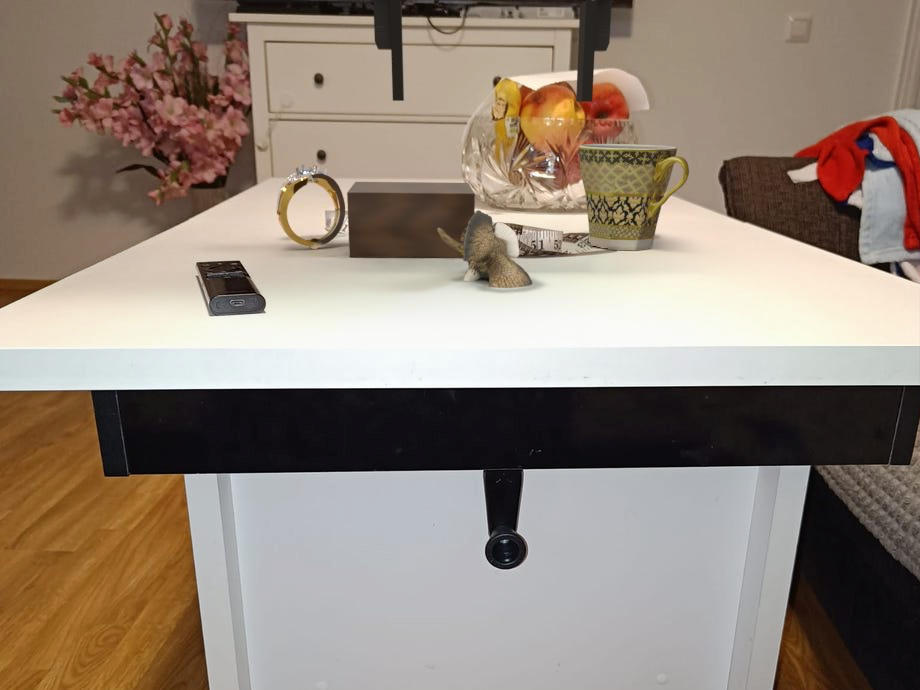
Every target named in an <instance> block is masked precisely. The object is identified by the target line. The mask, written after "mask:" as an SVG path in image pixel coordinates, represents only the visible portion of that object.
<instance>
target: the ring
mask: <svg viewBox="0 0 920 690" xmlns="http://www.w3.org/2000/svg"><path fill="white" fill-rule="evenodd" d="M320 169H321V167H320V166H319V165H313V164H312V165H311V164H310V165H308V169H306V164H301V171H300V166H296V167H295V173H292V174H291V175H289V176H288V177H287V178H285V180H284V181H283V183H282V184H281V186H280V187H279V191H278V195H277V200H276V216H277V220H278V224H279V226H280V228H281V229H282V231H283V232H284V234H285V235H286V236H287V237H288V238H289V239H290V240H291V241H293V242H294V243H297V244H298V245H300V246H304V247H308V248H309V249H312V250H316V249H317V250H318V249H319V247H321V246H325V245H327V244H328V243H329V242H332V241H333V240H334V239H335V238H336V237H337V235H338V234H339V233H340V231H341V230H342V228H343V225H344V222H345V218H346V203H345V198H344V195H343V192H342V189H341V187H340V186H339V184H338V182H337V181H336V180H335V179H334V178H333V177H331V176H330V175H328V174H327V169H328V168H323V169H322V171H320ZM308 184H316V185H317V186H319V187H320V188H322V189H323V190H324V191H325V192H326V193H327V194H328V195H329V197H330V198H331V200H332V202H333V206H334V213H335V214H334V221H333V223H332V226H331V228H330V229H329V230H328V232H326V234H324V235H323V236H320V237H318V238H317V237H315V236H314V237H313V236H310V237H308V238H307V239H305V238H304V237H303V238H302V237H300V235H298V234H296V233H295V232H294V230H293V229H292V227H291V226H290V223H289V219H288V207H289V205H290V201H291V200H292V198H293V196H294V195H295V194H296V193H297V192H298V191H299V190H301V189H302V188H304V187H305V186H307V185H308Z"/></svg>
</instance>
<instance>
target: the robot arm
mask: <svg viewBox="0 0 920 690" xmlns="http://www.w3.org/2000/svg"><path fill="white" fill-rule="evenodd" d="M613 2H614V0H585V1H583V2H581V3H579V21H578V22H579V23H578V48H577V67H576V68H577V70H576V71H577V72H576V95H575V101H576V102H577V103H579V102H580V103H582V102H583V103H584V102H585V103H587V102H588V103H589V102H590V103H591V102H593V93H594V71H595V53H596V52H597V53H598V52H599V53H603V52H607V50H608V48H609V45H610V41H611V23H612V7H613V5H612V4H613ZM372 3H373V5H372V6H373V29H374V30H373V31H374V43H375V45H376V48H377V50H378V51H391V53H390V55H391V87H392V88H391V89H392V90H391V91H392V93H391V94H392V101H393V102H394V101H395V102H400V101H401V102H404V101H405V88H404V87H405V86H404V49H403V11H402V10H403V5H402V4H403V3H402V0H372Z"/></svg>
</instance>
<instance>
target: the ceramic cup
mask: <svg viewBox="0 0 920 690" xmlns="http://www.w3.org/2000/svg"><path fill="white" fill-rule="evenodd" d="M677 151H678V148H677V147H676V146H669V145H657V144H656V145H655V144H635V143H634V144H630V143H629V144H628V143H627V144H626V143H595V144H594V143H589V144H587V143H586V144H580V145H578V157H579V158H578V159H579V167H580V168H579V169H580V176H581V180H582V181H581V182H582V185H583V189H584V194H585V202H586V210H587V220H588V221H587V222H588V232H589V241H590V245H591V247H592V246H597V247H603V248H608V249H607V250H610V251H643V250H648V249H649V250H650V249H651V248H652V247H653V243H654V238H655V234H656V231H657V230H656V229H657V227H658V226H657V225H658V221H659V218H660V214H661V210H662V206H663V205H664V204H665V203H666V202H667V201H668V199H669V198H670V197H671V196H673V194H674V193H676V192H678V190H680V189H681V188H682V187H683V186H684V185H685V184H686V183H687V180H688V179H689V174H690V168H689V163H688V161H687V160H686V158H684V157H683V156H678V155H677V153H678V152H677ZM676 163H678V164H680V165H681V167H682V170H683V173H682V178H681V180H680V181H679V182H678V183H677V184H676V185H675V186H674V187H672V188H671V189H670V190H669V191H667V190H668V186H669V183H670V180H671V176H672V173H673V168H674V165H675V164H676ZM597 247H596V248H597Z"/></svg>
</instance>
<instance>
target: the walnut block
mask: <svg viewBox="0 0 920 690" xmlns="http://www.w3.org/2000/svg"><path fill="white" fill-rule="evenodd" d="M346 199H347V200H346V202H347V225H348V227H347V228H348V252H349V253H348V255H349V258H409V259H410V258H415V259H416V258H417V259H418V258H423V259H424V258H426V259H427V258H428V259H429V258H431V259H433V258H434V259H439V258H440V259H443V258H444V259H463V255H461V254H460V252H459V251H457V250H456V249H455V248H453V247H451V246H449V245H448V244H447V243H445V242H444V241H443V240H442V238H441V236H440V234H439V233H438V231H437V228H441V229H442V230H443V231H444V232H445V233H446V234H447V235H448V236H449V237H451V238H452V239H453V240H455V241H456V242H458V243H461V235H462V233H463V231H464V230H465V228H467V225H468V221H469V220H470V219H471V217H472V216H473V214H475V212H476V194H475V192H474V190H473V188H472V187H471V185H470V183H469V182H427V181H426V182H421V181H418V182H417V181H416V182H415V181H413V182H412V181H409V182H408V181H354V183H353V184H352V186H351V187H350V188H349V189H348V190H347V192H346Z"/></svg>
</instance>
